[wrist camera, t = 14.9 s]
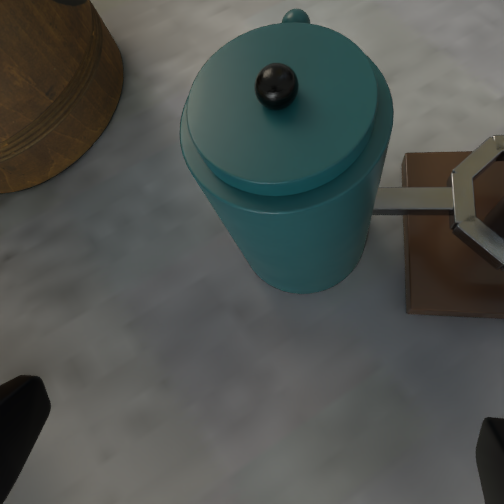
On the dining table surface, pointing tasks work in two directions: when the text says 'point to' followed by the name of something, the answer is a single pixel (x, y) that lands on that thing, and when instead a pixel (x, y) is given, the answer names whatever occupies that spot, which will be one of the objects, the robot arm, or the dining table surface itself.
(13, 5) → the wooden container
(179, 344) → the dining table surface
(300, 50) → the kettle
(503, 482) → the robot arm
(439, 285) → the wooden peg stand
